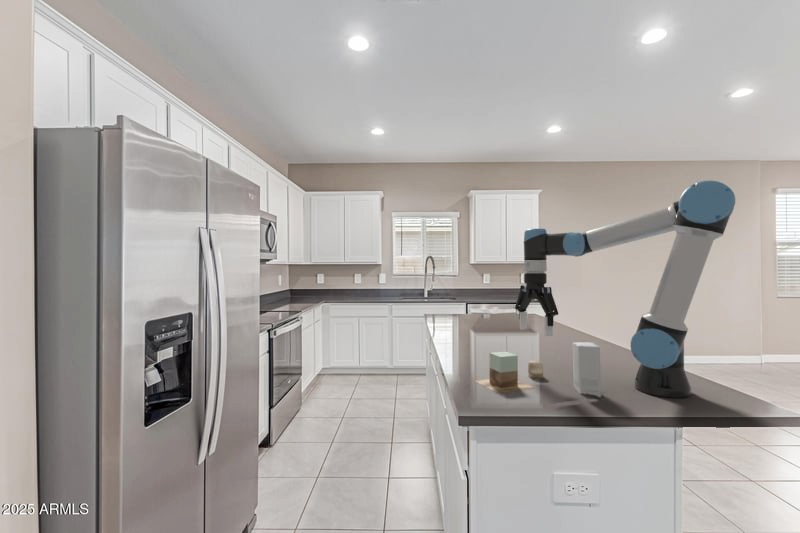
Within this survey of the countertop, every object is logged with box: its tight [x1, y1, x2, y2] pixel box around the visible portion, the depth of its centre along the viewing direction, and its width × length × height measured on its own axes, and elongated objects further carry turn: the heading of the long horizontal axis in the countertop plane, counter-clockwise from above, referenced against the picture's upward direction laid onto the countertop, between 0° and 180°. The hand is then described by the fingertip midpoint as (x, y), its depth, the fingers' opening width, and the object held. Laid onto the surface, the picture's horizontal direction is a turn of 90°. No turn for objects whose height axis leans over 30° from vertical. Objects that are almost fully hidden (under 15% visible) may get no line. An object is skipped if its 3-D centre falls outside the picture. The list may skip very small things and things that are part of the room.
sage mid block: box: [489, 351, 519, 373], centre depth 130 cm, size 6×6×5 cm
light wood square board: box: [474, 378, 535, 394], centre depth 130 cm, size 14×14×1 cm
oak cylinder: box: [527, 360, 544, 380], centre depth 139 cm, size 5×5×6 cm
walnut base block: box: [489, 367, 519, 388], centre depth 130 cm, size 6×6×5 cm
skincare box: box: [571, 341, 602, 398], centre depth 124 cm, size 8×7×16 cm
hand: (535, 332), depth 139 cm, fingers open, 13 cm apart
